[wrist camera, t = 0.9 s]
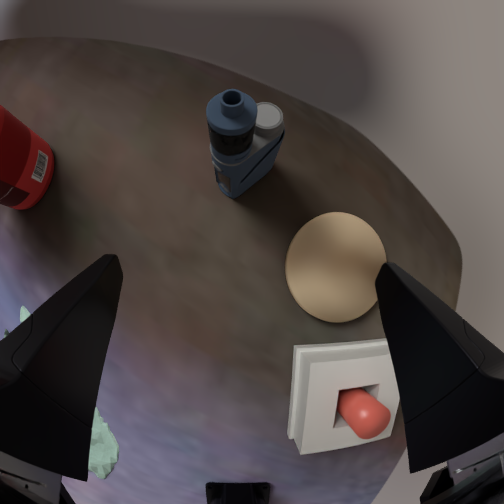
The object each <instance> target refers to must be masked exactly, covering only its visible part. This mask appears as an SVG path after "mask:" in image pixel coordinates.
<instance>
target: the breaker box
mask: <svg viewBox="0 0 504 504" xmlns="http://www.w3.org/2000/svg"><path fill="white" fill-rule="evenodd" d="M356 387H362V388H363V389H364V390H365V391H367V392H368V393H369V394H370V395H372V396H373V397H374V398H375V399H377V400H378V401H379V402H380V403H381V404H383V405H384V406H385V407H386V408H388V409H389V411H390V413H391V418H390V422H389V424H388V426H387V427H386V428H385V430H384V431H383V432H382V433H380V434H379V435H378V436H376V437H374V438H371V439H361V438H359V437H358V436H357V435H356V433H355V432H354V431H353V430H352V429H351V427H350V426H349V425H348V424H347V423H346V421H345V420H344V419H343V418H342V416H341V415H340V414H339V413H338V412H337V410H336V407H337V400H338V393H339V392H340V390H342V389H349V388H356ZM399 399H400V397H399V391H398V386H397V382H396V377H395V372H394V368H393V364H392V359H391V355H390V351H389V347H388V343H387V339H386V338H383V339H374V340H365V341H354V342H343V343H329V344H311V345H294V354H293V370H292V384H291V397H290V409H289V420H288V430H287V435H288V437H289V439H294V441H295V443H296V445H297V448H298V450H299V453H300V455H302V454H310V453H317V452H324V451H330V450H335V449H341V448H346V447H351V446H355V445H360V444H364V443H368V442H372V441H376V440H380V439H383V438H387V437H390V435H391V432H392V428H393V424H394V420H395V416H396V412H397V408H398V404H399Z"/></svg>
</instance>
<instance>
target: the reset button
mask: <svg viewBox="0 0 504 504" xmlns="http://www.w3.org/2000/svg"><path fill="white" fill-rule="evenodd" d="M336 410H337V412H338V413H339V414H340V415H341V416H342V418H343V419H344V420H345V421H346V423H347V424H348V425H349V426H350V427H351V429H352V430H353V431H354V432H355V433H356V435H357V436H358V437H359V438H361V439H371V438H374V437H376V436H378V435H379V434H380V433H382V432H383V431H384V430H385V428H386V427H387V426H388V424H389V422H390V418H391V413H390V411H389V409H388V408H386V407H385V406H384V405H383V404H381V403H380V402H379V401H378V400H377V399H375V398H374V397H373V396H372V395H370V394H369V393H368V392H367V391H365V390H364V389H363V388H362V387H356V388H349V389H342V390H340V392H339V393H338V400H337V407H336Z"/></svg>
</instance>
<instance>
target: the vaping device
mask: <svg viewBox="0 0 504 504" xmlns="http://www.w3.org/2000/svg"><path fill="white" fill-rule="evenodd" d="M206 114H207V121H208V128H209V135H210V142H211V143H210V151H211V155H212V164H213V165H214V168H215V175H216V181H217V182H218V185H219V187H220V189H221V191H222V192H223V193H224V194H225V195H227V196H229V197H232V199H234V198H237V197H238V196H240V195H241V194H242V193H243V192H245V191H246V190H247V189H248V188H250V187H251V186H252V185H253V184H255V183H256V182H257V181H258V180H260V179H261V178H262V177H263V176H265V175H266V174H267V173H268V171H270V170H271V169H272V166H273V164H274V161H275V158H276V156H277V153H278V151H279V148H280V145H281V143H282V140H283V137H284V134H285V128H284V122H283V113H282V111H281V110H280V108H279V107H277V106H276V105H274V104H272V103H269V102H261V103H257V104H256V103H255V101H254V100H253V99H252V98H251V97H250V96H249V95H247V94H245V93H242V92H241V91H239V90H237V89H228V90H226V91H224V92H222V93H220V94H218V95H216V96H215V97H213V98H212V99H211V100H210V102H209V103H208V105H207V109H206ZM210 131H211V132H210Z"/></svg>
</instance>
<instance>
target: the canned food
mask: <svg viewBox="0 0 504 504" xmlns="http://www.w3.org/2000/svg"><path fill="white" fill-rule="evenodd" d="M53 171H54V155H53V152H52V150H51V148H50V146H49V145H48V143H47V142H46V141H44V140H43V139H42V138H41V137H39V136H38V135H37V134H36V133H34V132H33V131H32V130H31V129H29V128H28V127H27V126H26V125H24V124H23V123H22V122H21V121H19V120H18V119H17V118H16V117H15V116H13V115H12V114H11V113H10V112H9V111H7V110H6V109H5V108H4V107H3V106H1V105H0V204H2V205H5V206H8V207H11V208H14V209H18V210H22V209H27V208H30V207H32V206H34V205H35V204H36V203H38V202H39V200H40V199H41V198H42V197H43V195H44V194H45V192H46V190H47V188H48V186H49V184H50V182H51V179H52V175H53Z"/></svg>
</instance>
